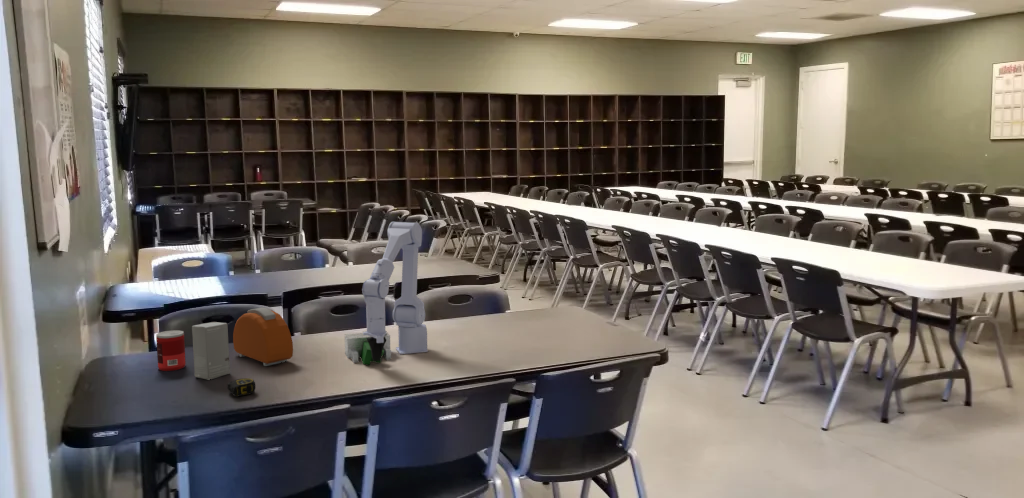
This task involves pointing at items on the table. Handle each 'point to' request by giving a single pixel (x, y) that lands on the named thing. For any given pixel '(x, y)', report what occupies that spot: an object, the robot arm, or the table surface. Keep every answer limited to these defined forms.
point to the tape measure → (241, 386)
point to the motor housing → (356, 343)
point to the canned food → (170, 350)
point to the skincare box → (210, 350)
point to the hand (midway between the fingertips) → (376, 360)
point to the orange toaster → (263, 337)
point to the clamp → (367, 354)
